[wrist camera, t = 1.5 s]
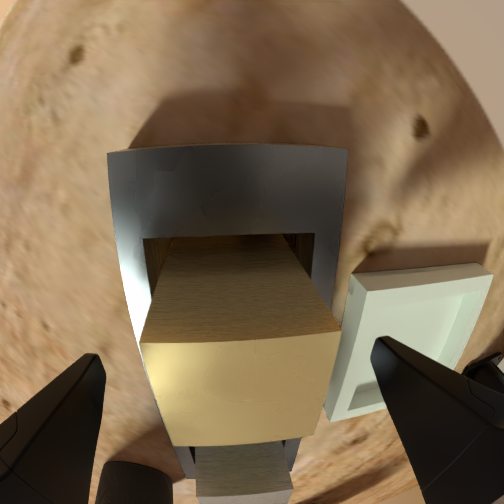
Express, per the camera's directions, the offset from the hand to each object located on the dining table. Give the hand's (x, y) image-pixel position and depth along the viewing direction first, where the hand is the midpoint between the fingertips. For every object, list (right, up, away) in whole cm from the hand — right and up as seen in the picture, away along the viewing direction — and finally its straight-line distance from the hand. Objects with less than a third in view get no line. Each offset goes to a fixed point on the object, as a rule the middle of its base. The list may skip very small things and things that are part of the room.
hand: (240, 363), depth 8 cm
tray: (+10, -2, +8) cm, 13 cm away
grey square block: (-1, -7, +9) cm, 11 cm away
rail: (-1, -3, +7) cm, 7 cm away
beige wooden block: (-1, +2, +5) cm, 5 cm away
